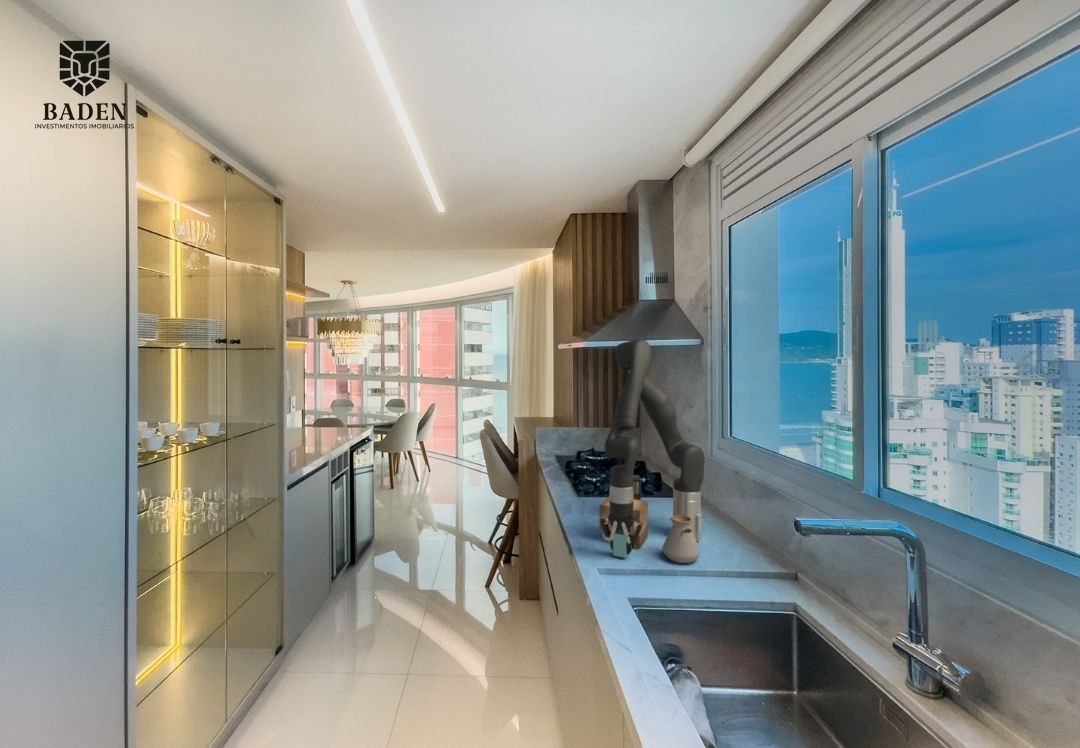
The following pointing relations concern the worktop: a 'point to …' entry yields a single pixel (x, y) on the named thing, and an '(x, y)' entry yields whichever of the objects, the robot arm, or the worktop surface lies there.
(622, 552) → the sage green eraser
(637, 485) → the coffee box
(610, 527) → the cabinet
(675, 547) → the coffee pot
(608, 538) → the steel token
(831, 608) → the worktop surface
